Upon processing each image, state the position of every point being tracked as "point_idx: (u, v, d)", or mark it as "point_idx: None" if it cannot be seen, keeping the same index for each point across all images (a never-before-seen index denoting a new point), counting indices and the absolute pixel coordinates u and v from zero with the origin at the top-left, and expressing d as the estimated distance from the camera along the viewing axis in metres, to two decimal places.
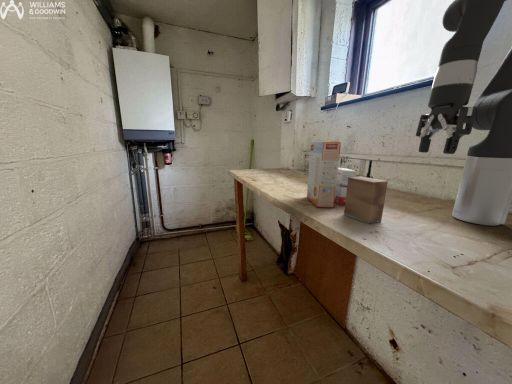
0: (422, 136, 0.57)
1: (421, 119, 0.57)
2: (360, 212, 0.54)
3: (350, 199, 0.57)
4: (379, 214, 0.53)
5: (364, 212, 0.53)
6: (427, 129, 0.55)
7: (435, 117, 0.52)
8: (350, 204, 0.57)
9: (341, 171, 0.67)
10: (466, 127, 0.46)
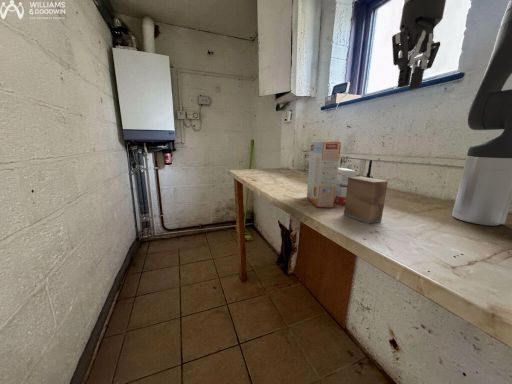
0: (412, 63, 0.45)
1: (405, 37, 0.42)
2: (360, 212, 0.54)
3: (350, 199, 0.57)
4: (379, 214, 0.53)
5: (364, 212, 0.53)
6: None
7: None
8: (350, 204, 0.57)
9: (341, 171, 0.67)
10: (422, 63, 0.49)
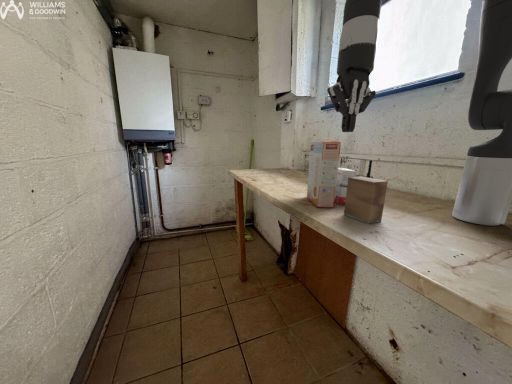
0: (352, 110, 0.46)
1: (339, 90, 0.43)
2: (360, 212, 0.54)
3: (350, 199, 0.57)
4: (379, 214, 0.53)
5: (364, 212, 0.53)
6: None
7: None
8: (350, 204, 0.57)
9: (341, 171, 0.67)
10: None
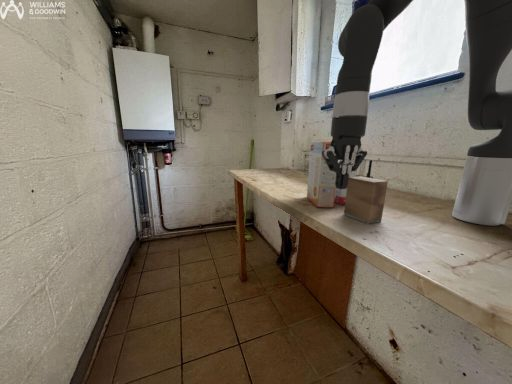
0: (345, 170, 0.49)
1: (332, 155, 0.46)
2: (360, 212, 0.54)
3: (350, 199, 0.57)
4: (379, 214, 0.53)
5: (364, 212, 0.53)
6: None
7: None
8: (350, 204, 0.57)
9: None
10: None
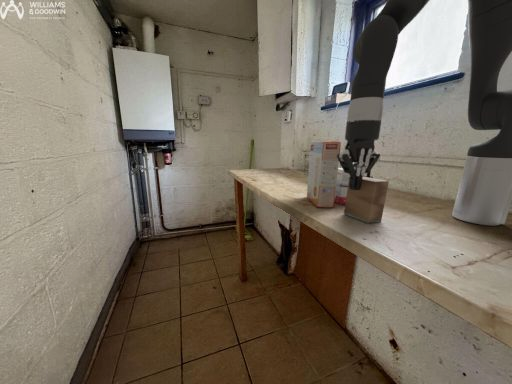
0: (359, 172, 0.51)
1: (347, 158, 0.48)
2: (360, 212, 0.54)
3: (350, 198, 0.57)
4: (379, 214, 0.53)
5: (364, 211, 0.53)
6: None
7: None
8: (351, 203, 0.57)
9: (341, 171, 0.67)
10: None
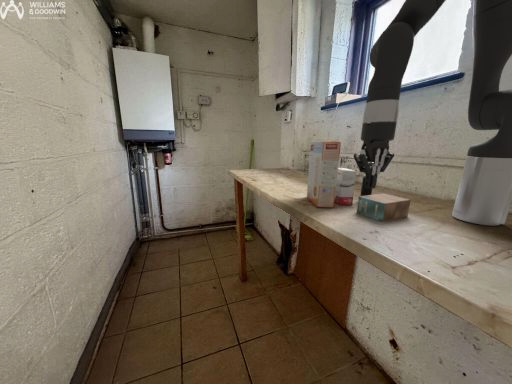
0: (374, 172, 0.53)
1: (364, 158, 0.51)
2: (380, 200, 0.56)
3: (375, 196, 0.61)
4: (387, 216, 0.55)
5: (385, 201, 0.56)
6: None
7: None
8: (373, 196, 0.60)
9: (341, 171, 0.67)
10: None
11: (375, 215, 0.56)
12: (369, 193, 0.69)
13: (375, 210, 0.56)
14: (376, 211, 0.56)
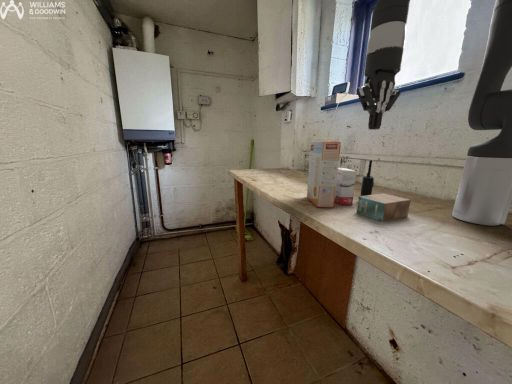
0: (379, 109, 0.49)
1: (368, 91, 0.47)
2: (380, 200, 0.56)
3: (375, 196, 0.61)
4: (387, 216, 0.55)
5: (385, 201, 0.56)
6: None
7: None
8: (373, 196, 0.60)
9: (341, 171, 0.67)
10: None
11: (375, 215, 0.56)
12: (369, 193, 0.69)
13: (375, 210, 0.56)
14: (376, 211, 0.56)
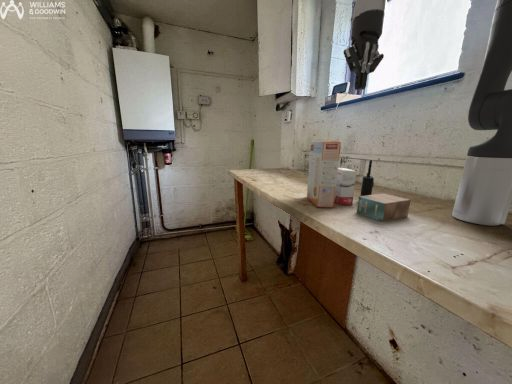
0: (364, 69, 0.55)
1: (353, 51, 0.52)
2: (380, 200, 0.56)
3: (375, 196, 0.61)
4: (387, 216, 0.55)
5: (385, 201, 0.56)
6: None
7: None
8: (373, 196, 0.60)
9: (341, 171, 0.67)
10: None
11: (375, 215, 0.56)
12: (369, 193, 0.69)
13: (375, 210, 0.56)
14: (376, 211, 0.56)
